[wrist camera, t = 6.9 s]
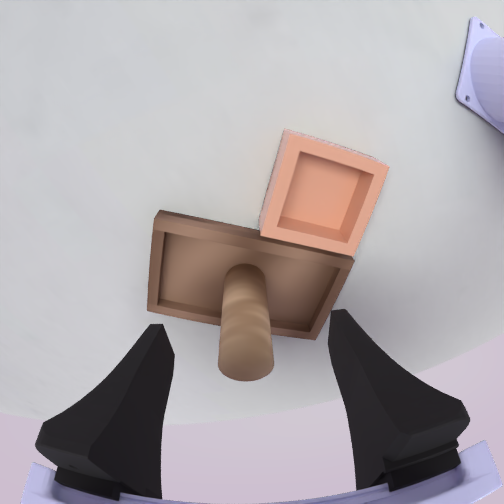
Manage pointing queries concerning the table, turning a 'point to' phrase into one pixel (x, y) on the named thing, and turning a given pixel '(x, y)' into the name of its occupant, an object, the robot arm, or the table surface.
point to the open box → (320, 194)
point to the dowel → (245, 325)
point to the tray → (233, 253)
